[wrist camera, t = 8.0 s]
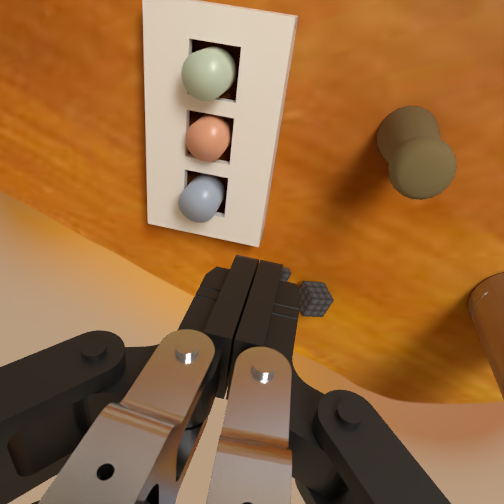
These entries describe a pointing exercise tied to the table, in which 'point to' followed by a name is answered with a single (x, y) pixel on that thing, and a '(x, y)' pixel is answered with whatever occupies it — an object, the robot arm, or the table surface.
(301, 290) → the building blocks
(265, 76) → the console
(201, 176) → the slate button
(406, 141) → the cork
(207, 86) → the pale green rounded piece
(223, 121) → the terracotta button
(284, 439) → the robot arm
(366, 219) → the table surface
